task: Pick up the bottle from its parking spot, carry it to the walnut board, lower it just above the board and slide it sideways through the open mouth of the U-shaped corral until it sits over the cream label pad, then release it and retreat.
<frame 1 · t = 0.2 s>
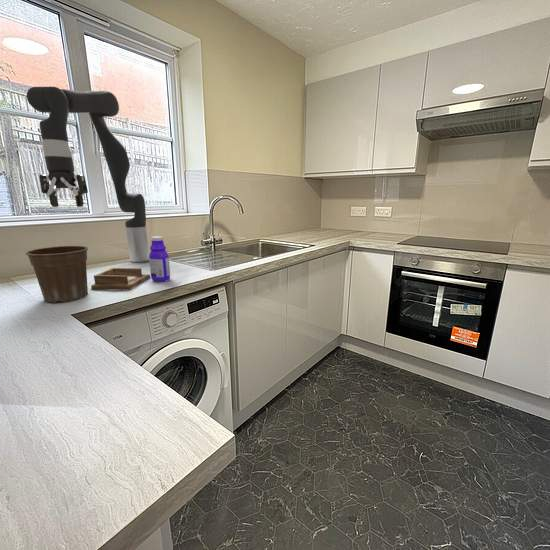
hand: (67, 206, 101), 29 cm above the counter, fingers open, 8 cm apart
bottle: (161, 280, 118), on the counter
plant pot: (67, 297, 99), on the counter
rail board: (122, 283, 114), on the counter
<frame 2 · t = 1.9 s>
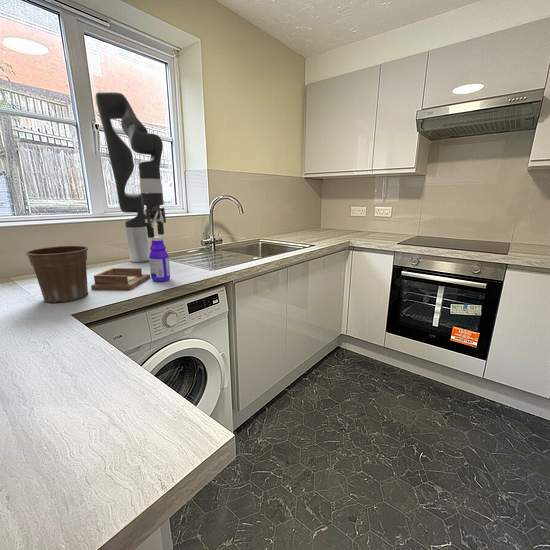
hand: (156, 236, 113), 18 cm above the counter, fingers open, 8 cm apart
nothing on the counter moved.
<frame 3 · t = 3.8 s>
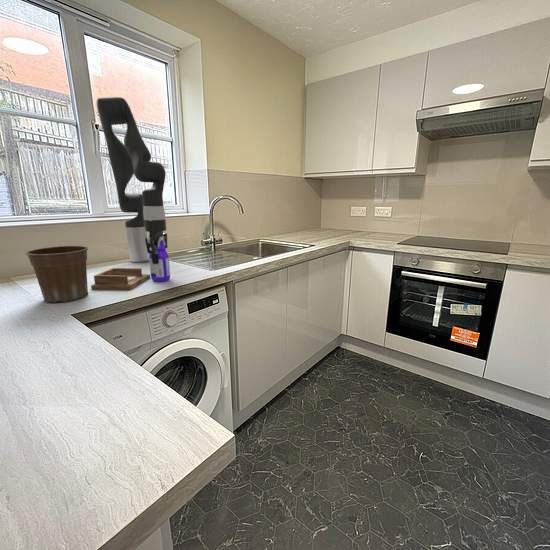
hand: (159, 261, 116), 8 cm above the counter, fingers closed on bottle, 6 cm apart
bottle: (161, 280, 118), on the counter, touching gripper
everything else where it was.
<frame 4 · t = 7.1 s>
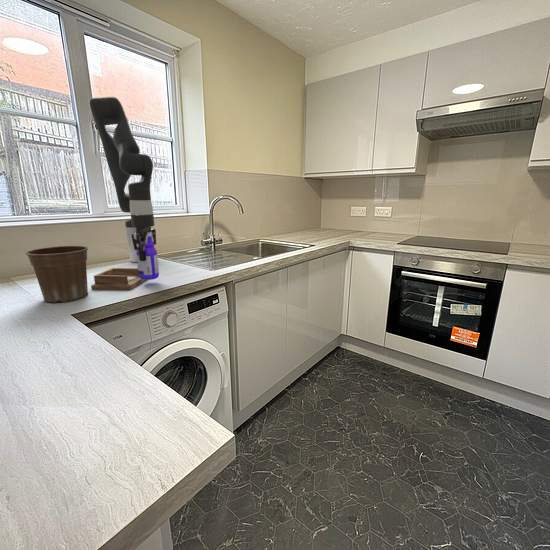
hand: (147, 258, 111), 10 cm above the counter, fingers closed on bottle, 6 cm apart
bottle: (149, 278, 113), point 2 cm above the counter, touching gripper
everything else where it was.
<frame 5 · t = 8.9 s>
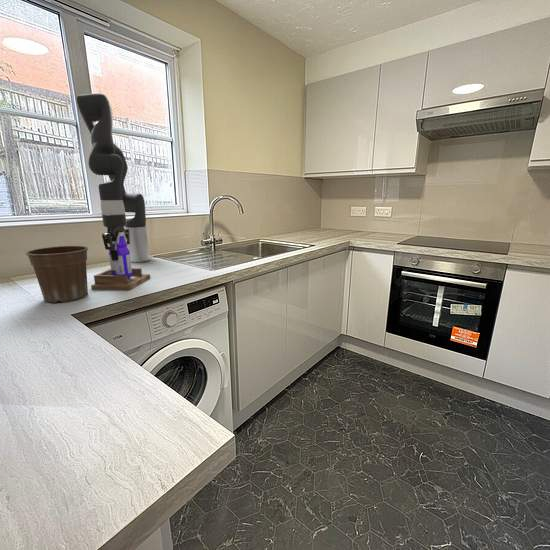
hand: (120, 258, 112), 10 cm above the counter, fingers closed on bottle, 6 cm apart
bottle: (122, 278, 114), point 2 cm above the counter, touching gripper
everything else where it was.
when the fingers open (10 cm above the counter, at t = 10.4 s): bottle stays where it is, resting on rail board.
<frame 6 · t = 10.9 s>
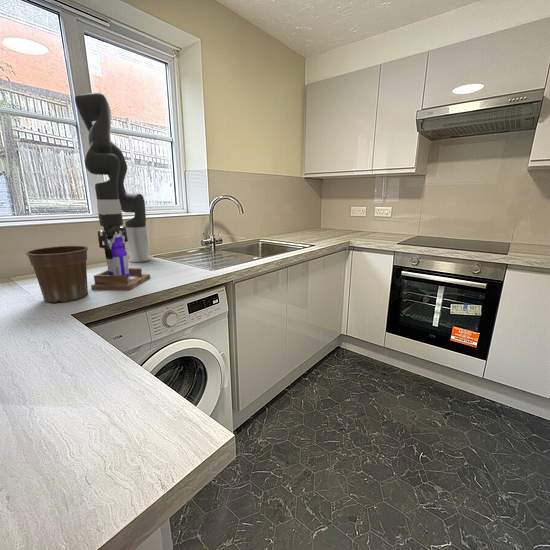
hand: (116, 256, 111), 10 cm above the counter, fingers open, 8 cm apart
bottle: (119, 279, 114), point 2 cm above the counter, touching rail board
everything else where it was.
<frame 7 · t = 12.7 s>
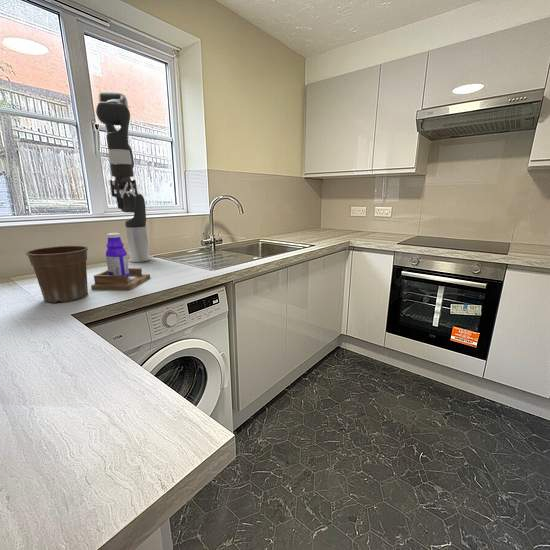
hand: (127, 207, 116), 28 cm above the counter, fingers open, 8 cm apart
nothing on the counter moved.
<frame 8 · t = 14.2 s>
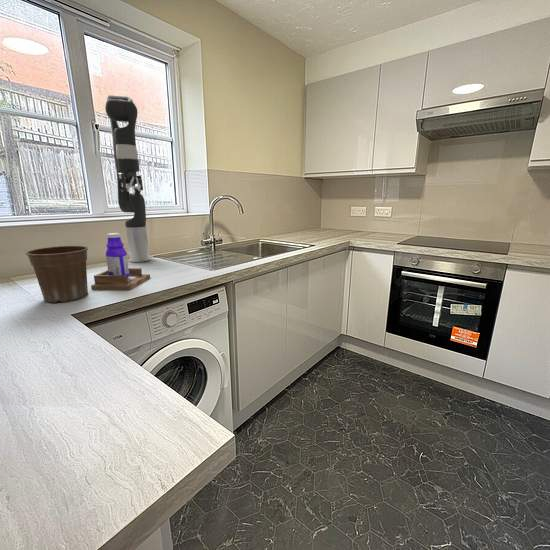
hand: (132, 201, 118), 30 cm above the counter, fingers open, 8 cm apart
nothing on the counter moved.
at the end: bottle 0.2 cm from the target spot, point 1.5 cm above the counter; bottle tilted 0°; the gripper is holding nothing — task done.
